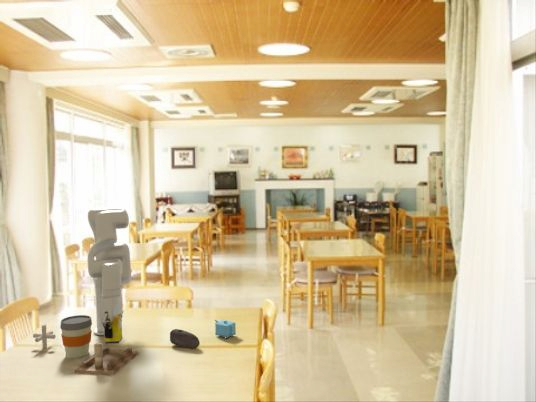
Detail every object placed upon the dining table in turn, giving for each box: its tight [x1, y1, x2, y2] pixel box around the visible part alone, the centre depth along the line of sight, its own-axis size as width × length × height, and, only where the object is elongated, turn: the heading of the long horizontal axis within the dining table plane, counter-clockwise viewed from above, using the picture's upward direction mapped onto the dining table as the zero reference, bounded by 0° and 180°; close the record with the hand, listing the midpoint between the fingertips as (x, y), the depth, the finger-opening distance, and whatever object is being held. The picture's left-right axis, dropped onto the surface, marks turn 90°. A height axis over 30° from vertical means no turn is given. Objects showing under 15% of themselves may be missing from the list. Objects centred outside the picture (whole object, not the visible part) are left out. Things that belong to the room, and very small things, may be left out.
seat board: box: [74, 342, 140, 376], centre depth 198 cm, size 22×16×10 cm
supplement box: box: [104, 314, 123, 345], centre depth 203 cm, size 6×6×11 cm
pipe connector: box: [32, 324, 56, 349], centre depth 217 cm, size 10×10×10 cm
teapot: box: [214, 319, 237, 339], centre depth 229 cm, size 12×6×8 cm, turn 52°
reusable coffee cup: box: [59, 314, 93, 359], centre depth 208 cm, size 13×13×15 cm
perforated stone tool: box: [169, 328, 201, 349], centre depth 215 cm, size 15×5×7 cm, turn 59°
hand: (113, 334), depth 203 cm, fingers closed on supplement box, 7 cm apart
